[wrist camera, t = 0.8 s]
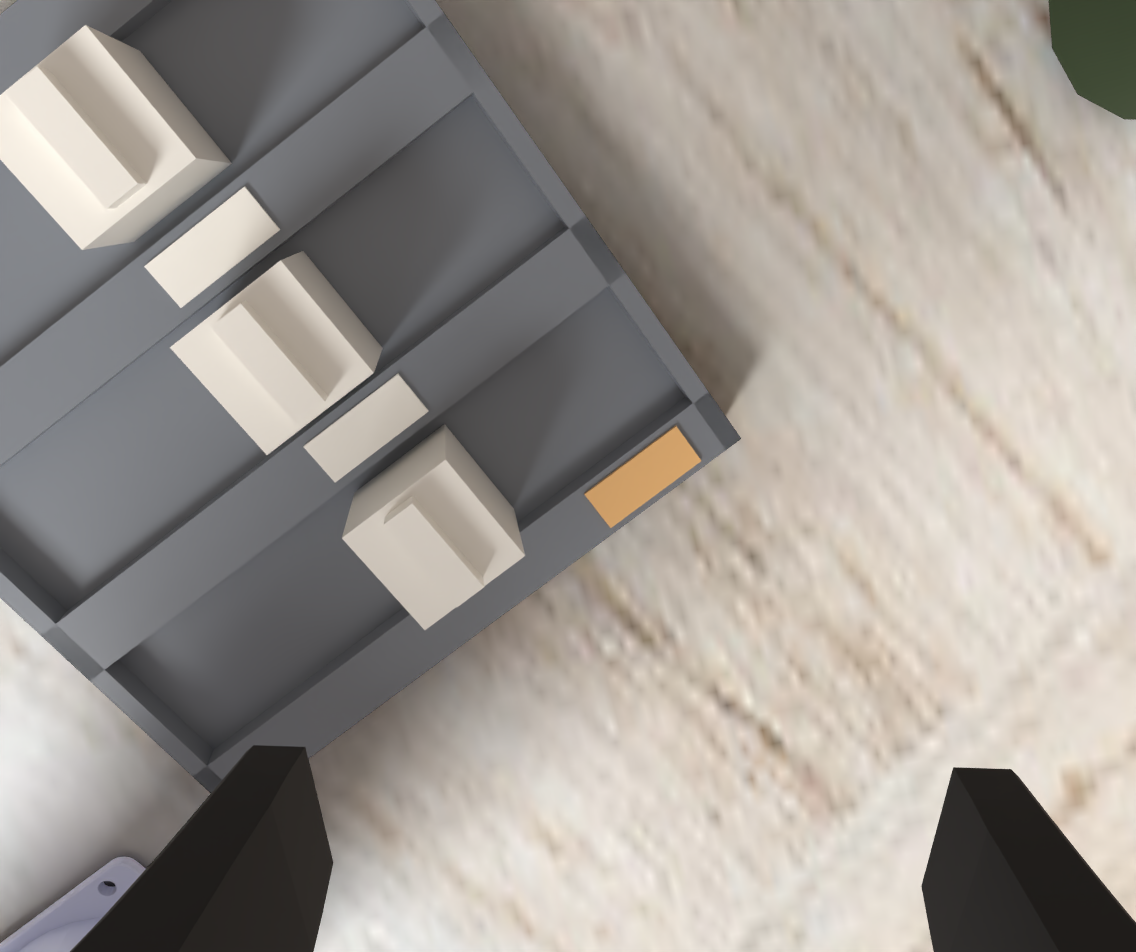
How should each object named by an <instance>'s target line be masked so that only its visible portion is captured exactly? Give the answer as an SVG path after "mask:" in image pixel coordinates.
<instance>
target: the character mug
mask: <svg viewBox="0 0 1136 952" xmlns="http://www.w3.org/2000/svg"><path fill="white" fill-rule="evenodd" d="M1049 12H1050V25H1051V38H1052V49H1053V50H1054V52H1055V54H1056V56H1057V58H1058V60H1059V61H1060V63H1061V65H1062V67H1063V69H1064V70H1065V72H1066V74H1067V76H1068V78H1069V80H1070V81H1071V83H1072V85H1073V87H1074V89H1075V90H1076V92H1077V94H1078V95H1080V96H1082V97H1084V98H1085V99H1087V100H1089V101H1091V102H1093V103H1095V104H1097V105H1099V106H1100V107H1102V108H1104V109H1106V110H1108V111H1110V112H1112V113H1114V114H1115V115H1117V116H1119V117H1121V118H1123V119H1136V0H1049Z"/></svg>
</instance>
